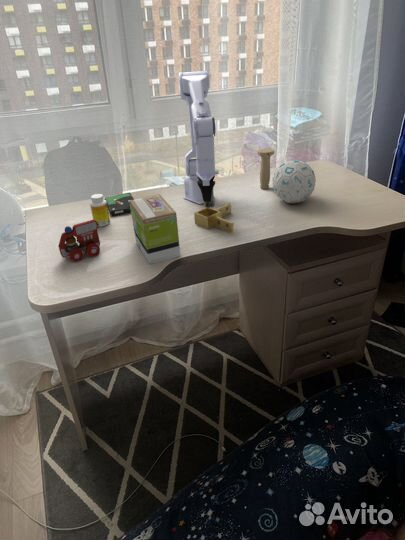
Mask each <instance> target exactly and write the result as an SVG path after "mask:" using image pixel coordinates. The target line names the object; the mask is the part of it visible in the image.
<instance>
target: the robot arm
mask: <svg viewBox="0 0 405 540" xmlns="http://www.w3.org/2000/svg"><path fill="white" fill-rule="evenodd" d="M178 88H179V95H180V99H181V100H184V101H185V102H186V105H187V106H188V107H187V110H188V121H189V122H188V123H189V132H190V133H189V134H190V146H191V149H190V150H189V151H188V152H186V154H185V156H184V170H185V177H184V179H183V183H184V184H183V185H184V186H183V187H184V196H183V199H185V200H187V201H190V202H193V203H195V204H197V205H202V204H204V202H210V201H211V195H212V190H213V191H214V188H213V187H215V185H216V181H215V178H216V175H219V173H220V172H219V171H220V170H217V169H216V164H215V162H216V160H215V137H216V134H217V133H216V132H217V126H216V120H215V116H214V115H213V114H212V112H211V108H210V103H209V102H208V101H207V100H206V98H207V97H208V94H209V90H210V75H209V72H208V71H207V70H200V71H199V70H198V71H187V72H186V71H185V72H184V71H183V72H182V71H179V73H178ZM214 199H215V196H214Z"/></svg>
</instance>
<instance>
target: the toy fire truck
mask: <svg viewBox="0 0 405 540" xmlns="http://www.w3.org/2000/svg"><path fill="white" fill-rule="evenodd" d="M98 228H99V226H98V223H97V221H96V220H93V219H90V220H87V221H83V222H80V223H76V224H73V226H72V227H71V226H67V225H66V226H65V227H64V232H62V233H61V235H60V239H59V241H58V246H57V247H58V250H59V253H60V256H61V257H62V258H68V257H69V259H70V261H72V262H74V263H77V262H80V261H81V260H83V258H84V252H85V254H87V256H88V257H90V258H95V257H97V256H98V255H99V254H100V252H101V247H100V246H101V240H100V236H99V231H98Z"/></svg>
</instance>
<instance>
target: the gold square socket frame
mask: <svg viewBox="0 0 405 540" xmlns="http://www.w3.org/2000/svg"><path fill="white" fill-rule="evenodd" d="M231 213H232V203H231V202H229V203H226V204H224V205H222V206H219V207H217V208H213V207H210V208H207V207H204V208H202V209H200V210H198V211H195V212H194V213H193V216H194V217H193V219H194V224H195V225H197V226H200V227H202V228H204V229H207V230H210V229H211V228H213V227H215V228H218V229H220V230H223V231H225V232H227V233H230V234H234V229H235V228H234V223H235V222H233V221H230V220H228V219H225V218H223V217H226V216H228V215H229V214H231Z"/></svg>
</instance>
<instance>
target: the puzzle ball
mask: <svg viewBox="0 0 405 540" xmlns="http://www.w3.org/2000/svg"><path fill="white" fill-rule="evenodd" d="M316 182H317V181H316V174H315V171H314V169H313V168H312V167H311V166H310V165H309V164H307V163H306V162H304V161H301V160H295V159H293V160H288V161H286V162H284V163H282V164H281V165H280V166H279V167H277V169H276V171H275V172H274V174H273V177H272V188H273V191H274V195H276V196H277V197H278V198H279V199H281V200H282V201H283V202H285V203H287V204H299V203H301V202H305V200H307V199H308V198H309V197H311V195H312V194H313V192H314V190H315V186H316Z"/></svg>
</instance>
